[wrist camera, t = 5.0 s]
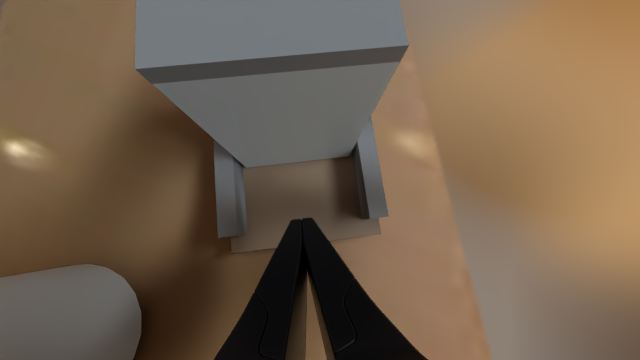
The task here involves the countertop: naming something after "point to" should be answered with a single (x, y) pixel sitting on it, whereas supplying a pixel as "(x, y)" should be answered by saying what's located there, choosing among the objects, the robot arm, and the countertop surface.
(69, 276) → the can
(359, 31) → the grey rectangular box
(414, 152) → the countertop surface
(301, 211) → the grey rail holder
